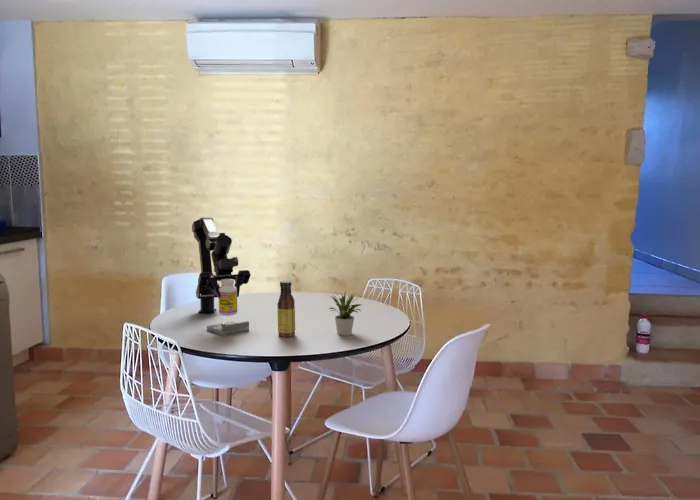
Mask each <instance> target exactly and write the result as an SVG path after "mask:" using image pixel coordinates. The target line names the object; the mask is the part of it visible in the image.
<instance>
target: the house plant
mask: <svg viewBox="0 0 700 500" xmlns="http://www.w3.org/2000/svg"><path fill="white" fill-rule="evenodd" d="M346 294H347V289H346V290H345V291H344V293H343V294H342V293H341V297H340V296H339V295H337V297H338V298H337V297H336V296H335V295H334V294H332V295H331V296H330V298H331V299H332V300H333V301H334V303H335V304H336V306H337V307H338V310H337V309H336V308H335V307H332V306H331V307H329V308H328V310H330V312H334V311H335V312H337V313H338V314H337V315H336V316H335V317H334V319H335V326H336V333H337V335H338V336H351V335H352V333H353V332H352V331H353V327H354V321H355V316H353V315H351V314H353V313H354V312H355V313H357V314H359V312H360V313H363V312H362V309H359V308H357V307H361V306H362V304H361V303H360V304H358V303H357V304H352V303H354V302H355V301H356V299H355V298H354V297H355V295H356V292H353V293H351V294H350V295H349V296H348V297H347V296H346ZM326 296H328V297H329V295H327V294H326ZM346 297H347V299H346ZM361 297H363V296H358V297H357V299H359V298H361ZM351 302H352V303H351ZM358 311H359V312H358Z"/></svg>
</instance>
